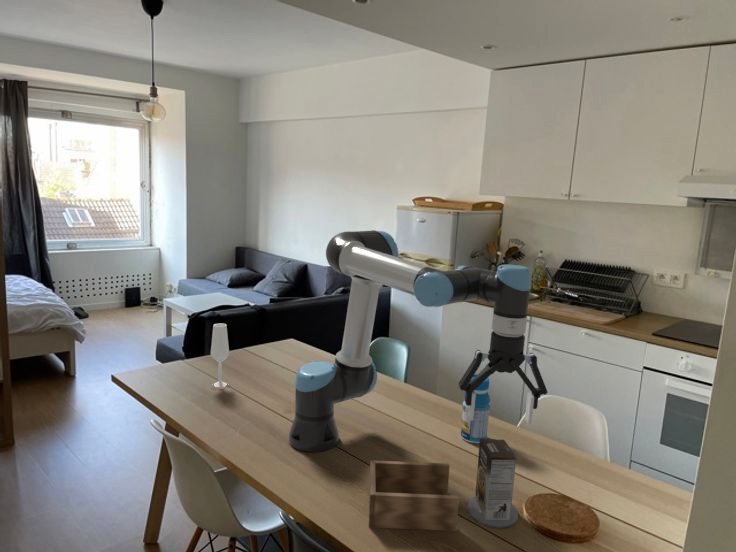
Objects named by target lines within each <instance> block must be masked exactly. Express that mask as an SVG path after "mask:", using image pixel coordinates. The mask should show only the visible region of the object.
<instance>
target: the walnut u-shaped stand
mask: <svg viewBox="0 0 736 552" xmlns="http://www.w3.org/2000/svg"><path fill="white" fill-rule="evenodd" d="M369 462H370V465H369V467H370V468H369V481H368V482H369V485H368V487H369V488H368V528H382V529H398V530H399V529H402V530H403V529H404V530H424V531H425V530H426V531H428V530H429V531H445V532H446V531H447V532H448V531H449V532H451V531H452V532H453V531H454V532H456V531H457V526H458V516H459V514H458V512H459V502H460V499H459V495H448V493H449V491H448V489H449V481H450V480H449V478H450V477H449V476H450V463H442V462H441V463H438V462H416V461H414V462H413V461H394V460H373V459H372V460H369Z"/></svg>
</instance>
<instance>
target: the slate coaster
mask: <svg viewBox="0 0 736 552" xmlns="http://www.w3.org/2000/svg"><path fill="white" fill-rule="evenodd" d="M466 509H467V513H468V515H469V516H470V518H471V519H473V520H474V521H475V522H476V523H478V524H480V525H482V526H486V527H489V528H492V529H493V528H494V529H506V528H509V527H512V526H514V525H516V523H517V522H518V519H519V511H518V509H517V508H516V506H515V505H514V504H513V503H512V504H511V514H510V520H485V519H484V517H483V514H482V512H481V510H480V508H479V505H478V503H477V501H476V499H475V496H474V497H472V498H471V499H469V500H468V502H467V508H466Z"/></svg>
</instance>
